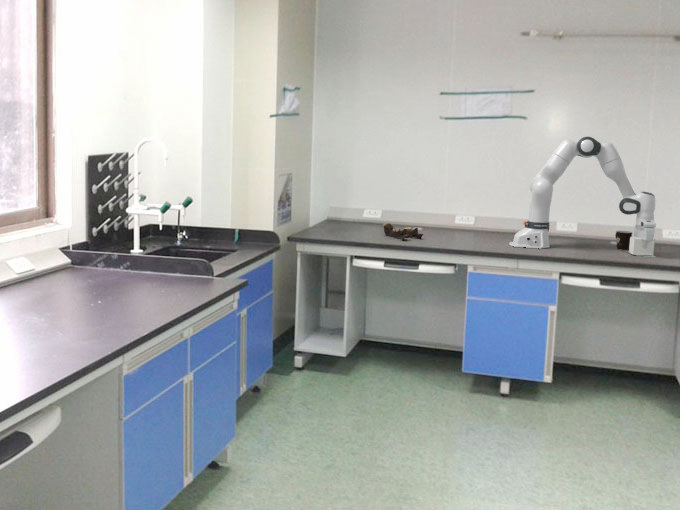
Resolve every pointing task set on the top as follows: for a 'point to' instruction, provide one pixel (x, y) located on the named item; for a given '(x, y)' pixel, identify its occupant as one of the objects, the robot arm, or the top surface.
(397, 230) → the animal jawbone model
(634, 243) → the white rectangular block
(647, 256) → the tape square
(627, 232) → the coffee mug
